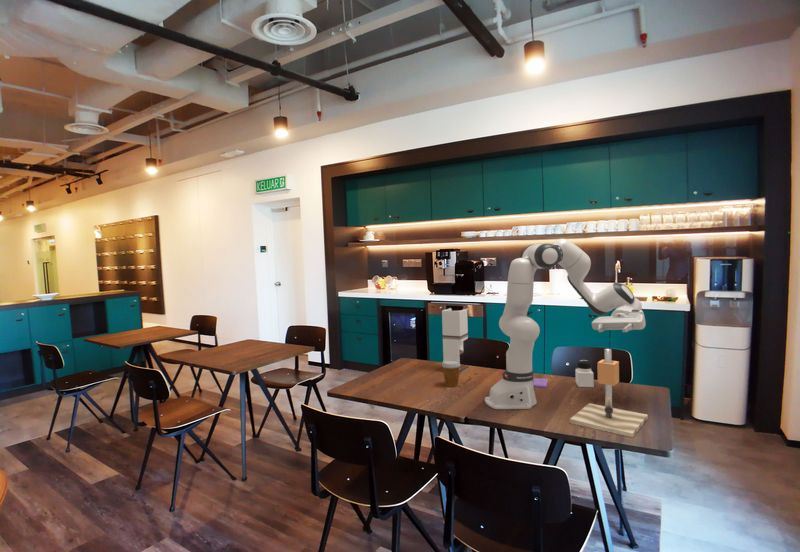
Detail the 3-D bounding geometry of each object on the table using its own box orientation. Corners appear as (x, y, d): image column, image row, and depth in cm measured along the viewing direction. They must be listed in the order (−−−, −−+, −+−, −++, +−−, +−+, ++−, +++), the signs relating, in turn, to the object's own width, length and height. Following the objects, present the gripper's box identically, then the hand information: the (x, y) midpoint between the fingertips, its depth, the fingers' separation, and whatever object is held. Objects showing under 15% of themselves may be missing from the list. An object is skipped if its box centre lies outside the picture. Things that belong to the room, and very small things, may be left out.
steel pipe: (606, 414, 168) (605, 348, 167) (614, 416, 166) (613, 348, 165) (603, 417, 166) (602, 349, 164) (611, 418, 164) (610, 350, 162)
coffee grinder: (461, 374, 237) (459, 311, 236) (443, 372, 243) (441, 310, 241) (468, 369, 247) (467, 308, 246) (451, 367, 253) (450, 308, 251)
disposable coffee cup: (462, 387, 213) (461, 364, 212) (443, 388, 213) (442, 364, 213) (459, 382, 222) (459, 359, 222) (441, 382, 223) (440, 360, 222)
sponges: (531, 388, 210) (531, 384, 210) (533, 381, 222) (533, 377, 222) (546, 389, 208) (546, 385, 207) (548, 382, 219) (548, 378, 219)
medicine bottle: (594, 387, 206) (593, 362, 206) (578, 387, 208) (578, 362, 207) (590, 383, 213) (590, 359, 213) (575, 382, 215) (575, 359, 214)
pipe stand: (589, 406, 181) (589, 403, 181) (647, 418, 167) (647, 414, 167) (569, 422, 165) (569, 419, 165) (632, 437, 150) (632, 433, 150)
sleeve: (602, 379, 169) (602, 359, 169) (619, 381, 165) (618, 361, 165) (597, 383, 165) (597, 362, 165) (614, 385, 161) (614, 364, 161)
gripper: (596, 312, 192) (585, 323, 183) (646, 310, 177) (637, 322, 168) (599, 325, 193) (588, 337, 183) (649, 324, 178) (640, 337, 169)
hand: (612, 330), depth 175 cm, fingers open, 8 cm apart
